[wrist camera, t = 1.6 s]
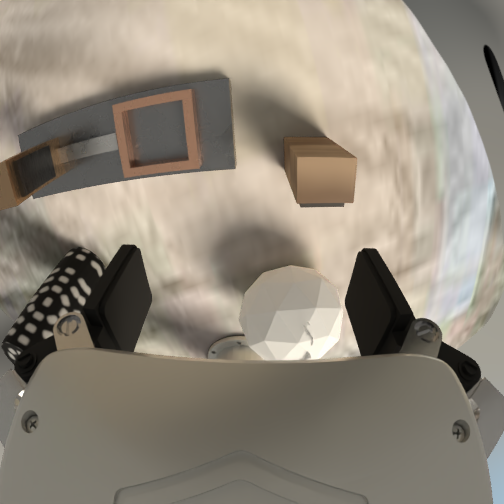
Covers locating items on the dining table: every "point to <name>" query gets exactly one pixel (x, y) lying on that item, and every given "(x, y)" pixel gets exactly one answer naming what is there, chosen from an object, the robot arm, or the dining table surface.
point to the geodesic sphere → (291, 314)
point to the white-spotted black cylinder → (54, 300)
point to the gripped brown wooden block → (319, 171)
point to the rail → (125, 142)
